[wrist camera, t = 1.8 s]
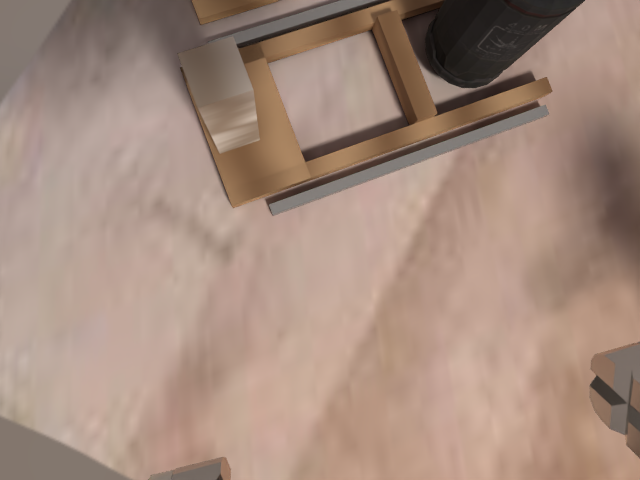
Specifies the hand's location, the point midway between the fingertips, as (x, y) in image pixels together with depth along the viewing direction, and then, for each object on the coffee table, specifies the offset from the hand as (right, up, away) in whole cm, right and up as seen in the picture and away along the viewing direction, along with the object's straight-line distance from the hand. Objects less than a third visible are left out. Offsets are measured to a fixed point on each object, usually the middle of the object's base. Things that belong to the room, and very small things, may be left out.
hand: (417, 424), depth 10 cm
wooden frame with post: (+2, +16, +25) cm, 29 cm away
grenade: (+9, +19, +26) cm, 33 cm away
